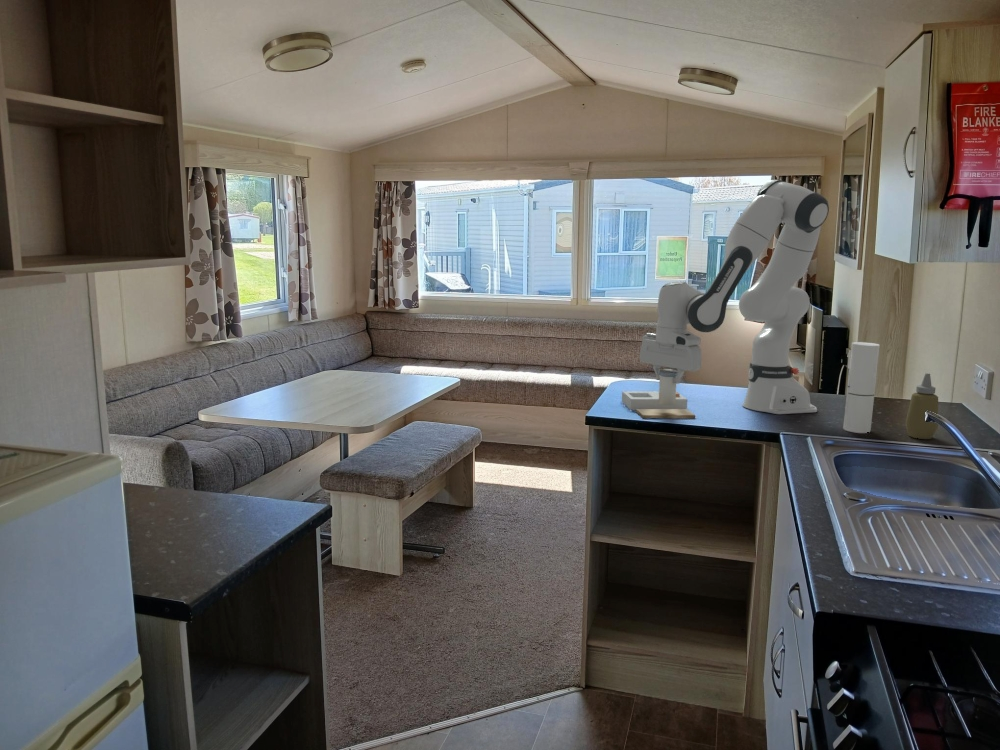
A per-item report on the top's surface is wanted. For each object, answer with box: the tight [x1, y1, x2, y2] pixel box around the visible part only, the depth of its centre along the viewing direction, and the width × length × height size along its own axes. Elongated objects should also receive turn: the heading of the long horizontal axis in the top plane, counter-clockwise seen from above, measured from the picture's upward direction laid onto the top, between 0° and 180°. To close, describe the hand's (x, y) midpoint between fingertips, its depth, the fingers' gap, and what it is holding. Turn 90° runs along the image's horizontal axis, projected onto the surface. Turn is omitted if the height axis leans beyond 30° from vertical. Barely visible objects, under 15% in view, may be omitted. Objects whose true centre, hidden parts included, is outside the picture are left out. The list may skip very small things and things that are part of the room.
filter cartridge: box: [658, 368, 678, 405], centre depth 234 cm, size 5×5×10 cm
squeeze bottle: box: [905, 372, 939, 440], centre depth 214 cm, size 8×8×18 cm
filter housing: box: [621, 390, 688, 411], centre depth 248 cm, size 18×12×4 cm, turn 95°
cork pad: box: [635, 408, 696, 419], centre depth 236 cm, size 16×8×1 cm, turn 95°
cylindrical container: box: [842, 341, 881, 434], centre depth 220 cm, size 7×7×25 cm
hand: (667, 381), depth 233 cm, fingers closed on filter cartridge, 5 cm apart
